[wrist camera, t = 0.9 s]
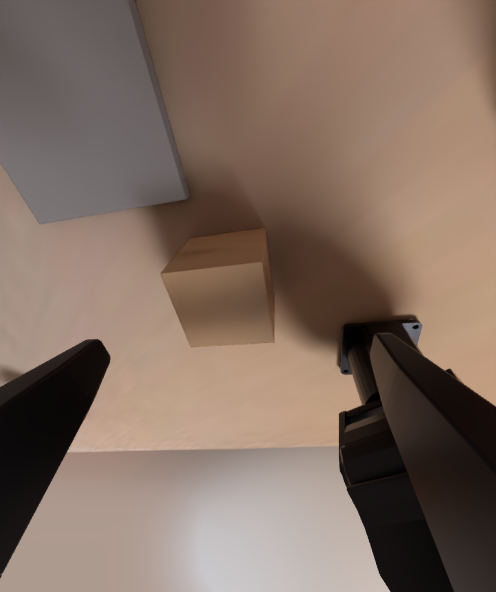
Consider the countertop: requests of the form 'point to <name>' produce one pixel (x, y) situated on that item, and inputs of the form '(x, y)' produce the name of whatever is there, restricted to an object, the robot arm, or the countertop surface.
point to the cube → (223, 289)
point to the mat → (83, 110)
